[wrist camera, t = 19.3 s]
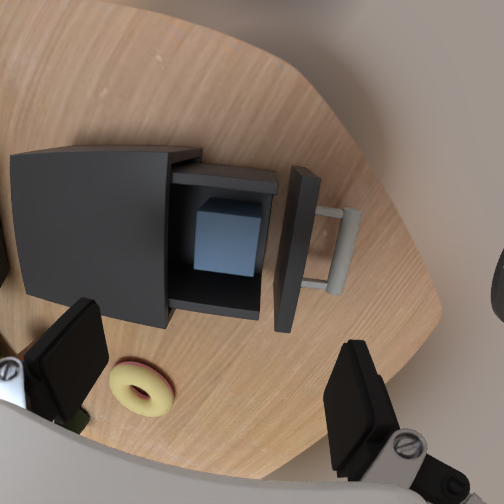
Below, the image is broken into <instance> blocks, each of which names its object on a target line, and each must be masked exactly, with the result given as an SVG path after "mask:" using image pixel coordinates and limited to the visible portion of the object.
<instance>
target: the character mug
mask: <svg viewBox="0 0 504 504" xmlns="http://www.w3.org/2000/svg"><path fill="white" fill-rule="evenodd" d="M88 422H89V418H88V416H87V415H86V414H85V413H84V412H83V411H82V410H80V409H79V410H78V411H77V413H76V415H75V416H74V418H73V419H72V420H69V421H68V422H67V424H66V426H65V425H63V424H61V423H59V422H57V421H55V420H54V424H57V425H59V426H61V427H63V428H65V429H67V430H70V431H72V432H74V433H76V434H79V435H80V433H81V432H82V431H83V430H84V428H85V427H86V425H87V424H88Z"/></svg>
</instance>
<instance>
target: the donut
mask: <svg viewBox="0 0 504 504" xmlns="http://www.w3.org/2000/svg"><path fill="white" fill-rule="evenodd" d="M109 385H110V388H111V391H112V393H113V394H114V396H115V397H116V398H117V400H118V401H119V402H120V403H121V404H122V405H124V406H125V407H126V408H128V409H129V410H131V411H133V412H135V413H137V414H140V415H143V416H148V417H158V416H162V415H164V414H166V413H167V412H168V411H169V410H170V409H171V408H172V406H173V402H174V395H173V391H172V389H171V387H170V385H169V383H168V382H167V381H166V379H165V378H164V377H163V376H162V375H161V374H159V373H158V372H157V371H155V370H154V369H152V368H151V367H149V366H147V365H144V364H141V363H138V362H131V361H128V362H122V363H119V364H117V365H116V366H115V367H114V368H113V369H112V370H111V372H110V375H109ZM132 385H134V386H137V387H139V388H141V389H143V390H144V391H146V392H147V393H148V394H149V396H146V395H144V394H141V393H140V392H138V391H137V390H136V389H135V388H134V387H133V386H132Z"/></svg>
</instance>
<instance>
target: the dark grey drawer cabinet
mask: <svg viewBox="0 0 504 504" xmlns="http://www.w3.org/2000/svg"><path fill="white" fill-rule="evenodd" d="M201 159H202V148H196V147H180V146H159V145H77V146H66V147H58V148H50V149H44V150H37V151H31V152H25V153H19V154H14V155H10V182H11V200H12V212H13V222H14V230H15V238H16V245H17V251H18V257H19V262H20V267H21V272H22V277H23V282H24V286H25V290H26V294H28V295H31V296H35V297H38V298H41V299H44V300H48V301H51V302H54V303H58V304H61V305H65V306H68V307H71V306H72V305H73V304H74V303H75V302H76V301H77V300H78V299H80V298H81V297H85V298H89V299H93V300H95V301H96V303H97V304H98V305H99V307H100V313H101V315H103V316H107V317H111V318H115V319H119V320H124V321H128V322H133V323H137V324H142V325H147V326H152V327H157V328H162V329H166V328H167V326H168V324H169V322H170V320H171V318H172V316H173V314H174V312H175V310H176V308H171V307H168V271H167V265H168V215H169V193H170V176H171V164H173V163H177V162H192V163H201Z"/></svg>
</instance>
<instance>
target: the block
mask: <svg viewBox="0 0 504 504" xmlns="http://www.w3.org/2000/svg"><path fill="white" fill-rule="evenodd" d="M261 217H262V203H255V202H247V201H239V200H230V199H221V198H212V197H210V198H209V199H208V200H207V201H206V202H205V203H204V204H203V205H202V206H201V207H200V208H199V209H198V210H197V216H196V232H195V251H194V269H198V270H205V271H212V272H220V273H227V274H235V275H242V276H250V277H253V276H254V270H255V262H256V255H257V248H258V240H259V233H260V225H261Z"/></svg>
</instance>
